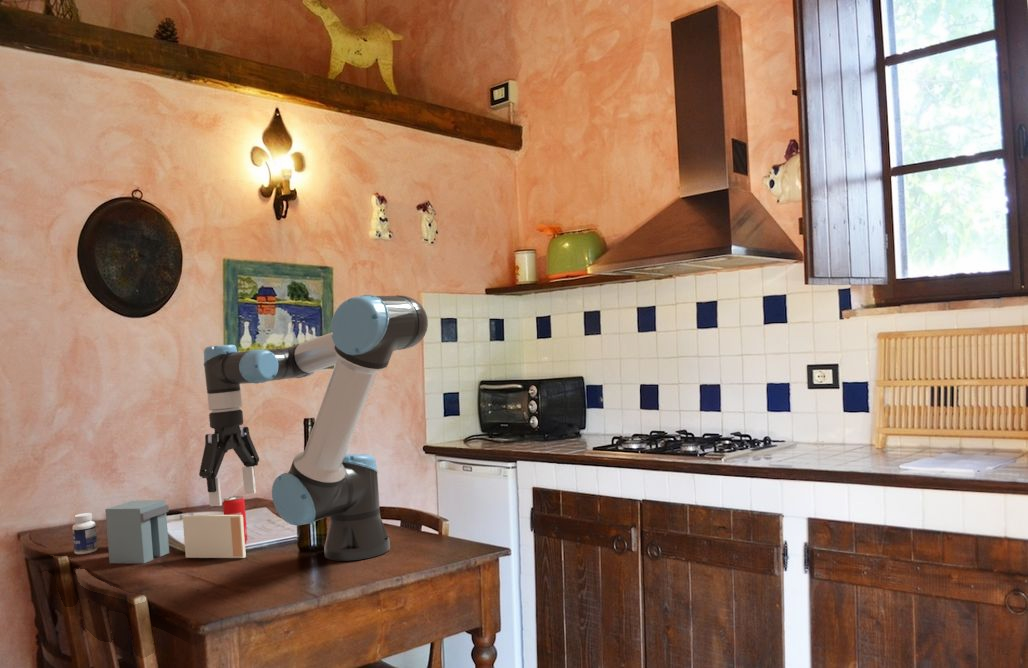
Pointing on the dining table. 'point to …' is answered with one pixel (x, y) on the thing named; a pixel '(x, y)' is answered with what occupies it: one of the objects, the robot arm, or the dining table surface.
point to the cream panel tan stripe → (214, 536)
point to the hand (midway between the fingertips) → (233, 499)
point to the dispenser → (137, 531)
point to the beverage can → (236, 509)
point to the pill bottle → (84, 534)
